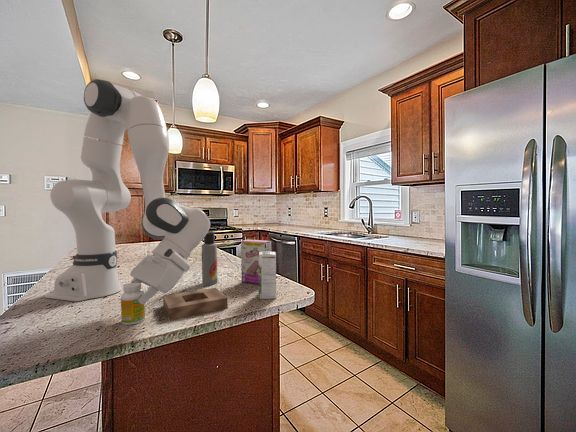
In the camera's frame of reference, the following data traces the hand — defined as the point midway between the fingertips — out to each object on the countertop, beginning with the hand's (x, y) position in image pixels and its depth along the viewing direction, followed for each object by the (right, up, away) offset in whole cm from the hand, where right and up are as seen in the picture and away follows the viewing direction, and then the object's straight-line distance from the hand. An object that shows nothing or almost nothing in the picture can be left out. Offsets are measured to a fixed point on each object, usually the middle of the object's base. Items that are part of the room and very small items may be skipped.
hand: (133, 298), depth 74 cm
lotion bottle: (+10, -5, +35) cm, 37 cm away
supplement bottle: (0, -6, 0) cm, 6 cm away
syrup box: (+34, -5, +19) cm, 39 cm away
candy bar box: (+28, -4, +36) cm, 46 cm away
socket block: (+13, -5, +10) cm, 17 cm away
